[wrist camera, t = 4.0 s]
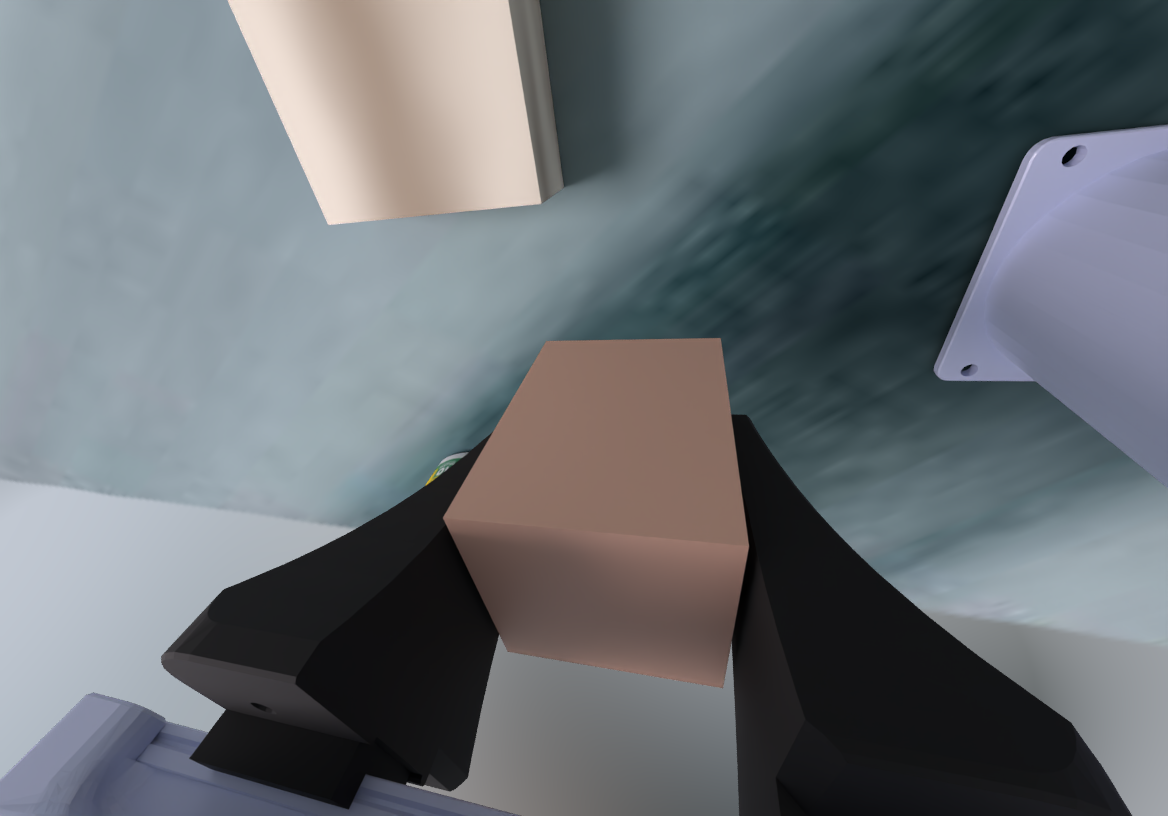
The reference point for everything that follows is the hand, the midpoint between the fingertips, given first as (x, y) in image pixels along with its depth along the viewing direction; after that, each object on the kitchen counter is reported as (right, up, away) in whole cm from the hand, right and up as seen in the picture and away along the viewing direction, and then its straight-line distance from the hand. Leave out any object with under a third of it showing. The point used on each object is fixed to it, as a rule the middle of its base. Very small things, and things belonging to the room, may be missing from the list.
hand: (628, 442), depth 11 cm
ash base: (-6, +12, +3) cm, 14 cm away
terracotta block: (0, +1, +1) cm, 1 cm away
